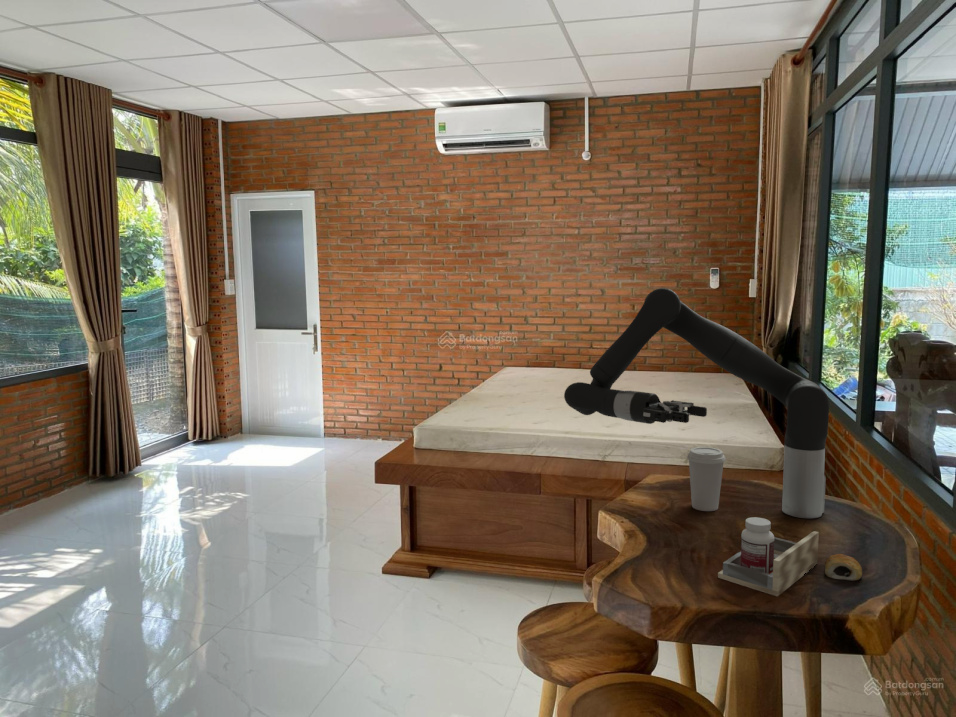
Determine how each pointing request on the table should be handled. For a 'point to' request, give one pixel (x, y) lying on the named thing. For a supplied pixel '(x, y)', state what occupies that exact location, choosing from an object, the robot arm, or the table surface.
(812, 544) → the bottle rack
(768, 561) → the pill bottle
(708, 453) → the coffee cup
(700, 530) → the table surface
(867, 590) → the table surface
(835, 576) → the pastry
